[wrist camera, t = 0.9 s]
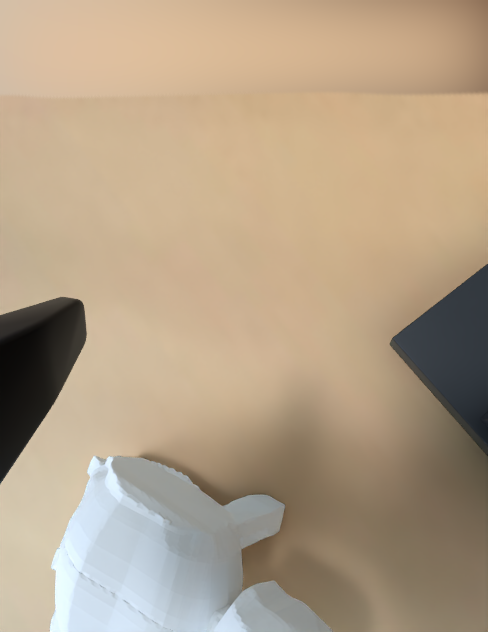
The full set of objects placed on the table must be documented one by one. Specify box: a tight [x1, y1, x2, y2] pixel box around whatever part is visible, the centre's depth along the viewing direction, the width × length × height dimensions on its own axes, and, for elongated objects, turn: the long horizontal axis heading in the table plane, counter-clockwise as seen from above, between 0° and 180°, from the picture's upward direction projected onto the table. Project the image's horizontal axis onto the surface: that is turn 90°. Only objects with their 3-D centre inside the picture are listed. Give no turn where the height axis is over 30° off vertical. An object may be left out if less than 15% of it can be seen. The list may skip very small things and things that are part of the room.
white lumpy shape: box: [50, 456, 333, 632], centre depth 20 cm, size 9×8×15 cm
